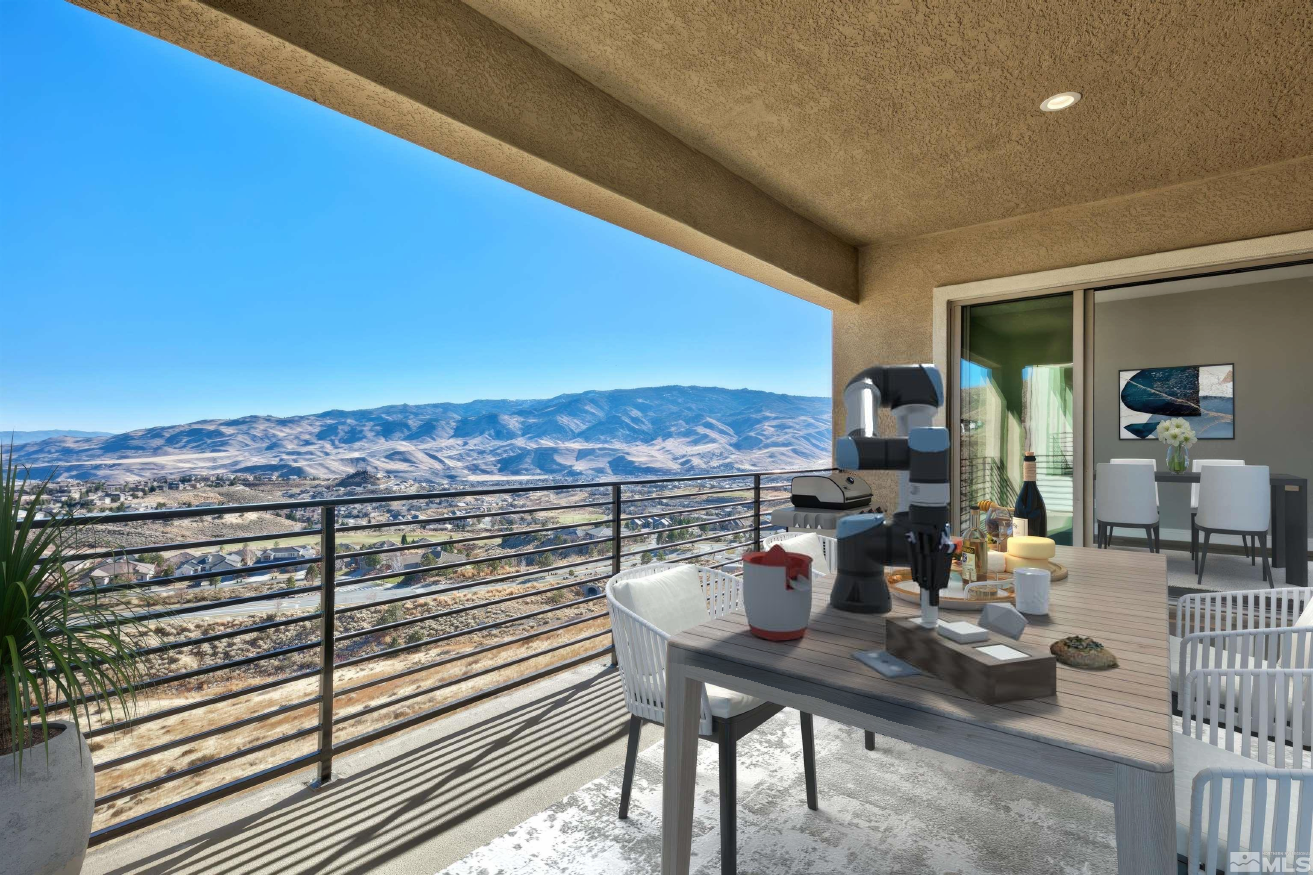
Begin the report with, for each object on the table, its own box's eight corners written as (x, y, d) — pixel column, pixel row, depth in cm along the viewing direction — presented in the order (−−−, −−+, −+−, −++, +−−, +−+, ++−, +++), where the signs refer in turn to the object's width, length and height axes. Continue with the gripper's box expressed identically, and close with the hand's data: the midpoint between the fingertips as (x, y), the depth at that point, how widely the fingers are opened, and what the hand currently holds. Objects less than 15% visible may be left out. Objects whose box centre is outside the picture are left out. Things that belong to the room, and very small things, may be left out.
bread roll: (1053, 644, 131) (1056, 622, 130) (1118, 664, 124) (1122, 640, 123) (1043, 662, 122) (1047, 638, 121) (1113, 684, 115) (1118, 658, 114)
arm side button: (907, 633, 128) (907, 618, 128) (931, 630, 130) (931, 616, 130) (927, 642, 122) (927, 627, 122) (953, 639, 124) (952, 624, 124)
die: (1024, 653, 128) (1040, 611, 130) (984, 630, 129) (1000, 589, 132) (1003, 654, 135) (1018, 614, 138) (965, 633, 137) (981, 594, 140)
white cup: (1058, 615, 151) (1057, 574, 151) (1025, 615, 151) (1024, 574, 151) (1038, 606, 159) (1038, 567, 158) (1007, 606, 159) (1006, 567, 158)
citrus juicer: (774, 652, 128) (773, 554, 128) (729, 628, 144) (728, 541, 143) (834, 640, 135) (833, 547, 134) (784, 619, 150) (783, 535, 150)
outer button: (974, 665, 111) (974, 648, 111) (1001, 661, 113) (1001, 644, 112) (1001, 677, 105) (1001, 659, 105) (1030, 673, 107) (1030, 656, 107)
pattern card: (850, 655, 126) (850, 652, 126) (881, 651, 128) (881, 649, 128) (888, 677, 114) (888, 675, 114) (921, 673, 116) (921, 670, 116)
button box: (885, 649, 129) (885, 618, 128) (942, 642, 132) (942, 612, 132) (989, 704, 103) (989, 665, 103) (1056, 694, 106) (1056, 656, 106)
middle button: (938, 639, 120) (938, 624, 119) (964, 636, 121) (964, 621, 121) (961, 650, 114) (961, 634, 114) (988, 646, 115) (988, 630, 115)
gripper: (892, 500, 131) (893, 613, 131) (936, 508, 119) (936, 632, 119) (922, 499, 133) (923, 610, 133) (968, 506, 121) (969, 628, 121)
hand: (929, 620), depth 126 cm, fingers closed
